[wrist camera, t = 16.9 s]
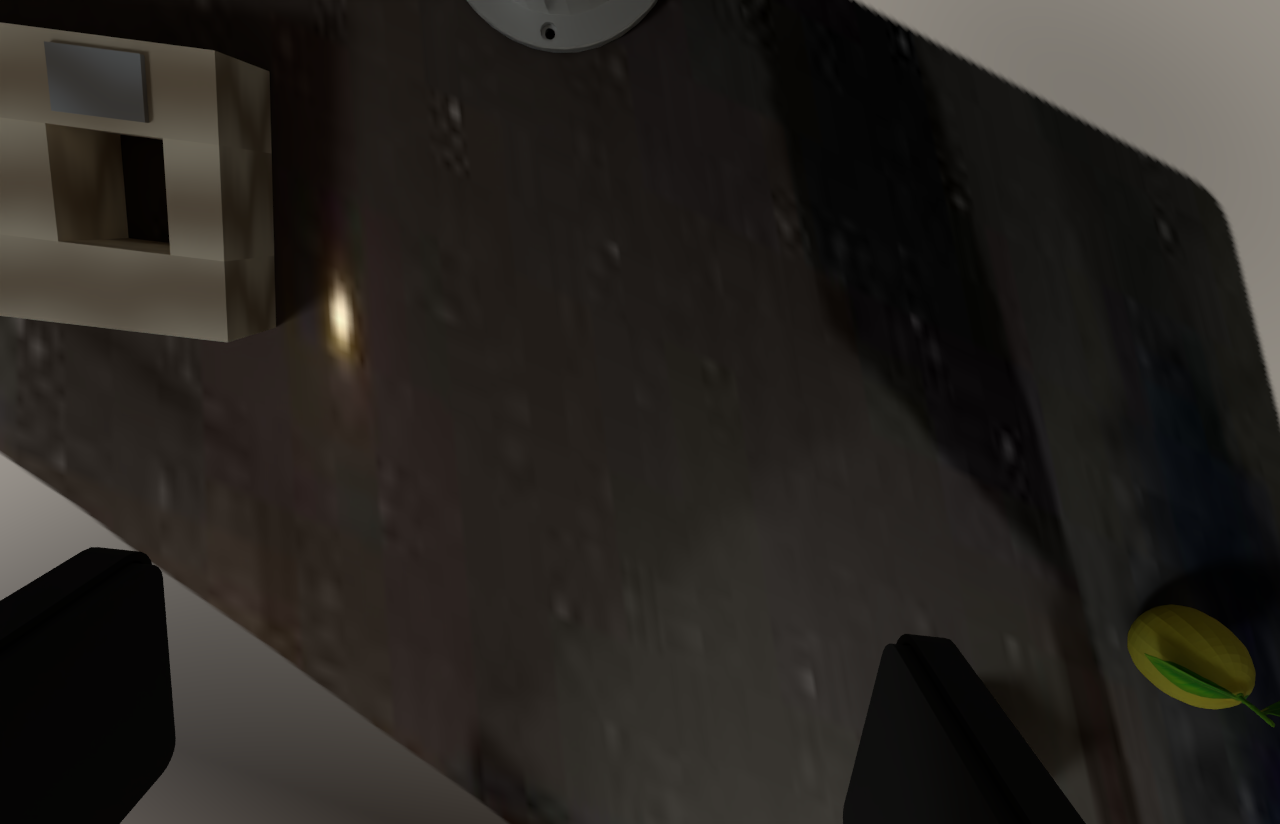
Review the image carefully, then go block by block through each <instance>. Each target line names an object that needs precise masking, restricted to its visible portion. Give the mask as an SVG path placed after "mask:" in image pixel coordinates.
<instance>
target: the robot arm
mask: <svg viewBox="0 0 1280 824" xmlns="http://www.w3.org/2000/svg"><path fill="white" fill-rule="evenodd" d="M466 1H467V2H468V3H469V4H470V6H471V7H472V8H473V9H474V10H475V11H476V12H477V13H478V14H479V15H480V16H481V17H482V18H483V19H484V20H485V21H486V22H487V23H488V24H489V25H490V26H491V27H493V28H494V29H496V30H497V31H499V32H500V33H502V34H503V35H505V36H506V37H508V38H509V39H511V40H513V41H515V42H518V43H520V44H523V45H525V46H528V47H530V48H533V49H538V50H543V51H548V52H554V53H566V52H581V51H585V50H589V49H593V48H597V47H601V46H603V45H605V44H607V43H609V42H611V41H613V40H615V39H617V38H619V37H621V36H622V35H624V34H625V33H626V32H628V31H629V30H630V29H632V28H633V27H634V26H636V25H637V24H638V23H639V22H640V21H641V20H642V19H643V18H644V17H645V16H646V15H647V13H648V12H649V11H650V10H651V9H652V8H653V7H654V6H655V4H656V3H657V1H658V0H466ZM551 30H552V31H554V32H555V37H554V38H553V39H551V40H549V39H547V38H546V34H547V32H548V31H551ZM174 748H175V726H174V714H173V701H172V687H171V675H170V663H169V649H168V637H167V625H166V611H165V599H164V587H163V576H162V572H161V570H160V569H159V567H157V566H155V565H152V563H151V560H150V559H149V557H148V556H147V555H146V554H144V553H142V552H137V551H127V550H118V549H108V548H100V547H95V548H94V547H91V548H89V549H86V550H84V551H82V552H80V553H79V554H77V555H75V556H74V557H72V558H70V559H69V560H67V561H65V562H64V563H62V564H60V565H59V566H57V567H56V568H54V569H52V570H51V571H49V572H48V573H46V574H44V575H42V576H41V577H39V578H37V579H36V580H34V581H33V582H31V583H29V584H28V585H26V586H24V587H23V588H21V589H19V590H17V591H16V592H14V593H13V594H11V595H9V596H8V597H6V598H4V599H3V600H1V601H0V824H120V822H121V821H122V820H123V819H124V818H125V817H126V816H127V814H128V813H129V812H130V811H131V810H132V808H133V807H134V806H135V805H136V804H137V803H138V801H139V800H140V799H141V798H142V797H143V795H144V794H145V793H146V792H147V791H148V790H149V789H150V787H151V786H152V785H153V784H154V782H156V780H157V779H158V778H159V777H160V776H161V775H162V773H163V772H164V770H165V769H166V768H167V766H168V764H169V762H170V760H171V757H172V755H173V752H174ZM843 824H1086V823H1085V822H1084V821H1083V819H1082V818H1081V817H1080V815H1079V814H1078V813H1077V811H1076V810H1075V808H1074V807H1073V806H1072V804H1071V803H1070V802H1069V800H1068V799H1067V797H1066V796H1065V795H1064V793H1063V792H1062V791H1061V789H1060V788H1059V786H1058V785H1057V784H1056V782H1055V781H1054V780H1053V778H1052V777H1051V776H1050V774H1049V773H1048V771H1047V770H1046V769H1045V767H1044V766H1043V765H1042V763H1041V762H1040V760H1039V759H1038V758H1037V756H1036V755H1035V754H1034V752H1033V751H1032V749H1031V748H1030V747H1029V745H1028V744H1027V743H1026V741H1025V740H1024V739H1023V737H1022V736H1021V734H1020V733H1019V732H1018V730H1017V729H1016V728H1015V726H1014V725H1013V723H1012V722H1011V721H1010V719H1009V718H1008V717H1007V715H1006V714H1005V712H1004V711H1003V710H1002V708H1001V707H1000V706H999V704H998V703H997V702H996V700H995V699H994V697H993V696H992V695H991V693H990V692H989V691H988V689H987V688H986V686H985V685H984V684H983V682H982V681H981V680H980V678H979V677H978V675H977V674H976V673H975V671H974V670H973V669H972V667H971V666H970V665H969V663H968V662H967V660H966V659H965V658H964V656H963V655H962V654H961V652H960V651H959V649H958V648H957V647H956V645H955V644H954V643H953V642H952V641H951V640H950V639H946V638H939V637H930V636H920V635H911V634H904V635H902V636H901V637H900V638H899V639H898V641H897V644H888V645H887V646H886V647H885V648H884V651H883V654H882V657H881V661H880V665H879V669H878V673H877V677H876V681H875V685H874V689H873V693H872V697H871V701H870V705H869V709H868V713H867V717H866V721H865V724H864V728H863V732H862V736H861V740H860V744H859V748H858V752H857V756H856V760H855V764H854V768H853V772H852V776H851V780H850V784H849V788H848V792H847V796H846V800H845V803H844V809H843Z"/></svg>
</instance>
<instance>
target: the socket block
mask: <svg viewBox="0 0 1280 824" xmlns="http://www.w3.org/2000/svg"><path fill="white" fill-rule="evenodd" d="M120 135H128V136H136V137H144V138H152V139H160V140H163V150H164V165H165V180H166V195H167V211H168V226H169V241H170V243H165V242H157V241H149V240H141V239H133V238H129V237H128V224H127V212H126V200H125V188H124V176H123V164H122V152H121V139H120ZM0 316H7V317H16V318H24V319H33V320H41V321H50V322H58V323H67V324H75V325H84V326H93V327H101V328H110V329H118V330H127V331H135V332H144V333H152V334H161V335H169V336H178V337H186V338H195V339H203V340H212V341H221V342H231V341H234V340H237V339H240V338H243V337H247V336H250V335H253V334H256V333H259V332H263V331H266V330H269V329H272V328H275V327H276V304H275V266H274V227H273V188H272V149H271V110H270V71H267V70H264V69H262V68H259V67H256V66H254V65H251V64H249V63H246V62H243V61H241V60H238V59H236V58H233V57H230V56H228V55H225V54H222V53H220V52H217V51H215V50H207V49H199V48H192V47H184V46H176V45H169V44H161V43H154V42H146V41H138V40H131V39H123V38H115V37H108V36H100V35H92V34H85V33H77V32H69V31H62V30H54V29H47V28H39V27H31V26H24V25H16V24H8V23H1V22H0Z"/></svg>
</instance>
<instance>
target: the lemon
mask: <svg viewBox="0 0 1280 824" xmlns="http://www.w3.org/2000/svg"><path fill="white" fill-rule="evenodd" d="M1127 647H1128V650H1129V653H1130V655H1131V657H1132V660H1133V662H1134V664H1135V665H1136V667H1137V668H1138V669H1139V671H1140V672H1141V673H1142V674H1143V675H1144V676H1145V677H1146V678H1147V679H1148V680H1149V681H1150V682H1152V683H1153V684H1154V685H1155V686H1156V687H1157V688H1159V689H1160V690H1162V691H1163V692H1164V693H1166V694H1168V695H1170V696H1171V697H1174V698H1176V699H1178V700H1180V701H1182V702H1185V703H1187V704H1189V705H1192V706H1196V707H1200V708H1207V709H1222V708H1229V707H1232V706H1235V705H1238V704H1240V703H1241V702H1242V703H1244V704H1245V705H1247V706H1248V707H1249V708H1251V709H1252V710H1253V711H1254V712H1255V713H1257V714H1258V715H1259V716H1260V717H1261V718H1263V719H1264V720H1265V721H1266V722H1267V723H1268V724H1269V725H1271V726H1272V727H1275V724H1274V722H1273V721H1271V720H1270V719H1269V718H1268V717H1267V716H1266V715H1267V714H1273V715H1276V716H1280V701H1279V702H1277V703H1275V704H1272V705H1270V706H1268V707H1266V708H1265V709H1263V710H1261V711H1260V710H1259V709H1258V708H1256V707H1255V706H1254V705H1252V704H1251V703H1250V702H1248V701H1247V700H1246V698H1247V697H1248V696H1249V694H1250V693H1251V692H1252V690H1253V688H1254V686H1255V669H1254V665H1253V663H1252V660H1251V657H1250V655H1249V653H1248V650H1247V649H1246V648H1245V646H1244V645H1243V643H1242V642H1241V641H1240V640H1239V639H1238V638H1237V637H1236V636H1235V635H1234V634H1233V633H1232V632H1231V631H1230V630H1229V629H1228V628H1226V627H1225V626H1224V625H1223V624H1221V623H1220V622H1219V621H1217V620H1216V619H1214V618H1212V617H1210V616H1208V615H1206V614H1205V613H1203V612H1201V611H1199V610H1197V609H1194V608H1190V607H1185V606H1179V605H1173V604H1170V605H1163V606H1157V607H1154V608H1152V609H1150V610H1148V611H1146V612H1144V613H1143V614H1142V615H1140V616H1139V617H1138V618H1137V619H1136V620H1135V621H1134V623H1133V624H1132V625H1131V628H1130V630H1129V632H1128V646H1127Z"/></svg>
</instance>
